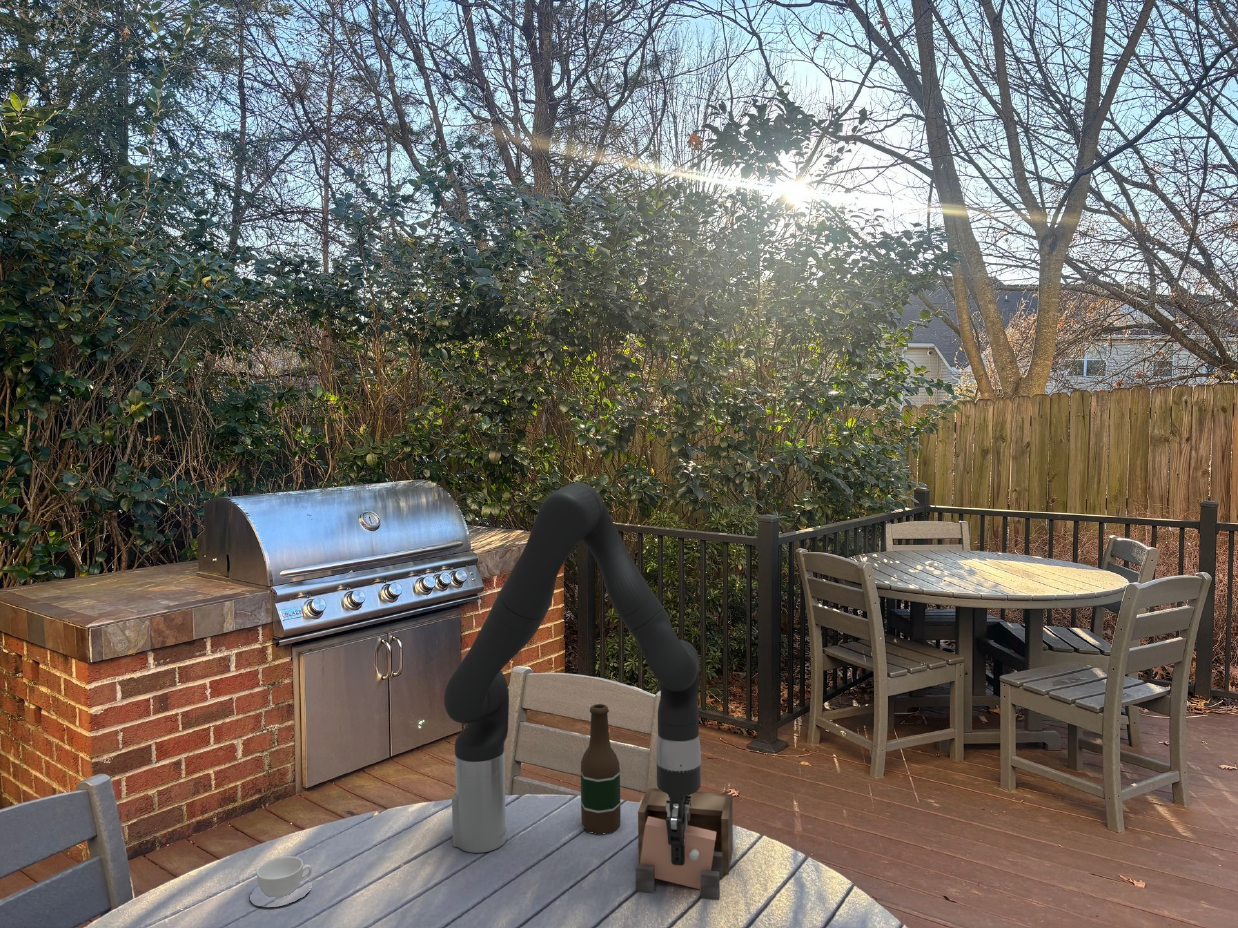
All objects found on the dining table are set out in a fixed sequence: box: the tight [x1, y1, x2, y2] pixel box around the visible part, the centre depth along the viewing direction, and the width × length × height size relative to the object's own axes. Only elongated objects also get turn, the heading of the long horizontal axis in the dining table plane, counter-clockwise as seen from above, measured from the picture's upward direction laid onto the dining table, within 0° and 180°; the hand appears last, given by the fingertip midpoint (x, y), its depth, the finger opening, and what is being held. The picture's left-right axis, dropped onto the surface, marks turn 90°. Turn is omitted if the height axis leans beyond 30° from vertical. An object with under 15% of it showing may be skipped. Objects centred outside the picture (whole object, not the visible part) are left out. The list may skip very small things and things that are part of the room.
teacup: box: [256, 855, 313, 898], centre depth 145 cm, size 10×10×5 cm
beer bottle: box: [580, 703, 622, 835], centre depth 166 cm, size 8×8×24 cm
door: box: [640, 816, 717, 890], centre depth 145 cm, size 12×4×9 cm, turn 78°
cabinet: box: [635, 787, 734, 901], centre depth 151 cm, size 16×18×10 cm
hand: (679, 858), depth 146 cm, fingers closed on door, 3 cm apart
